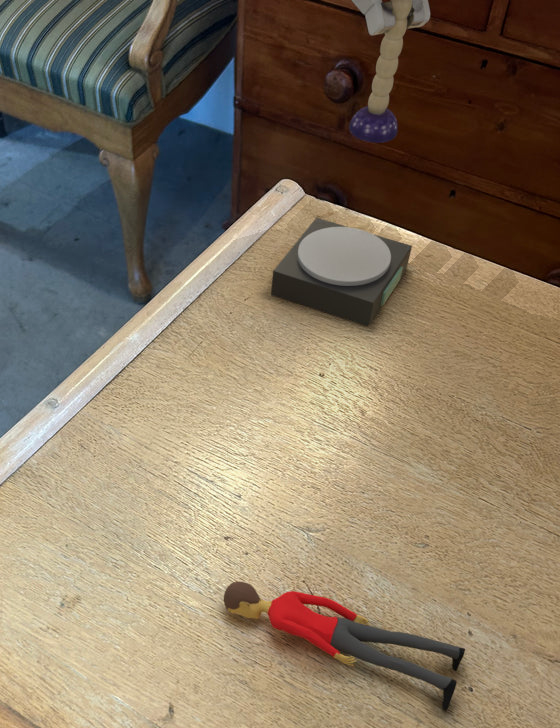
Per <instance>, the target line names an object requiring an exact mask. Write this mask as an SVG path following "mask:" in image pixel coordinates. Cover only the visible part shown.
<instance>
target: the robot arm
mask: <svg viewBox="0 0 560 728" xmlns="http://www.w3.org/2000/svg"><path fill="white" fill-rule="evenodd" d="M351 2H352V3H353V4H354V6H355V7H357V9H358V10H359V11H360V12H361V14H363V15H364V16H365V22H366V26H367V31H368V34H369V36H377V35H383V34H385V33H388V32H389V31H390V29H392V28H393V27H394V25H395V16H394V15H393V13H392V12H393V6H392V1H391V0H389V1H383V0H351ZM430 18H431V9H430V3H429V0H412V6H411V10H410V13H409V14H408V16H407V28H406V30H409V29H415V28H420V27H424V25H425V24H426V23H428V22H429V21H430Z"/></svg>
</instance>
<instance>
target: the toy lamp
mask: <svg viewBox="0 0 560 728" xmlns="http://www.w3.org/2000/svg"><path fill="white" fill-rule="evenodd" d="M390 1H392V6H393V12H392V13H393V15H394V16H395V25H394V27H393V28H392V29H390V31H389V32H388V33H384V37H383V38H382V40H381V44H380V46H379V47H380V48H379V53H380V55H379V57H378V58H377V61H376V64H375V73H376V74H375V75H374V77H373V79H372V83H371V93H370V95H369V97H368V102H367V106H364V107H362V108H360V109H359V110H358V111H357V112H355V113H354V115H353V116H352V118H351V120H350V122H349V125H348V130H349V132H350V134H351V135H353V137H355V138H357V139H358V140H361V141H364V142H367V143H374V144H379V143H380V144H381V143H387V142H391V141H393V140H394V139H395V138H396V137H397V135H398V126H399V125H398V120H397V117H396V116H395V114H394V113H393V112H392V111H391V110H390V109H388V106H389V103H390V93H391V91H392V89H393V86H394V81H395V80H394V75H395V74H396V72H397V71H398V67H399V56H400V55H401V52H402V50H403V45H404V39H403V37H404V35H405V33H406V31H407V29H406V28H407V16H408V14H409V13H410V10H411V6H412V0H390Z"/></svg>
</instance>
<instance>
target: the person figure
mask: <svg viewBox="0 0 560 728" xmlns="http://www.w3.org/2000/svg"><path fill="white" fill-rule="evenodd" d="M223 603H224V607H225V609H226V610H227V611H229V612H230V613H231V614H235V615H240V616H243V617H244V618H246V619H259V618H260V617H261V614H262V613H266V614H267V617H268V620H269V622H270V625H271V627H272V629H275V630H278V631H283V632H284V633H287V634H288V635H292V636H295V637H300V638H302V639H304V640H306V641H308V642H309V643H310V644H312V645H313V646H315V647H317V648H318V649H320V650H321V651H323V652H325V653H327V654H329V656H330V657H332V658H333V659H336V660H338V661H339V662H341V663H343V664H345V665H347V666H351V667H354V666H355V664H353V663H356V662H357V659H359V660H360V661H362V662H365V663H368V664H370V665H371V664H372V665H374V666H378V667H382V668H384V669H388V670H391V671H395V672H398V673H400V674H403V675H405V676H409V677H411V678H415V679H416V680H417V679H418V680H421V681H422V682H425V683H427V684H429V685H432V686H434V687H435V688H437V689H439V690H441V691H442V693H443V694H442V695H443V696H442V697H443V698H442V704H441V707H442V710H443V711H445V712H447V710H448V709H449V707H450V704H451V702H452V699H453V696H454V692H455V690H456V688H457V685H458V683H457V682H458V681H457V680H456V679H453V678H452V677H449V676H446V675H443V674H440V673H437V672H435V671H432V670H430V669H428V668H425V667H423V666H421V665H419V664H416V663H415V662H411V661H408V660H405V659H403V658H400V657H396V656H392V655H388V654H386V653H383V652H381V651H380V650H377V649H375V648H373V647H371V646H370V645H368V644H366V643H375V644H382V645H383V644H384V645H394V646H400V647H405V648H411V649H415V650H416V649H417V650H421V651H426V652H431V653H436V654H440V655H443V656H446V657H448V658H451V661H452V663H451V670H452V671H453V672H457V671H458V669H459V667H460V664H461V661H462V659H463V658H464V656H465V652H466V648H464V647H461V646H458V645H454V644H452V643H451V644H450V643H447V642H443V641H439V640H435V639H431V638H429V637H424V636H421V635H416V634H412V633H408V632H402V631H391V630H387V629H383V628H379V627H376V626H372V625H371V624H370V623H369V620H368V619H367V618H366V617H364V616H362V615H359V614H357V613H355V612H354V611H352V610H351V609H348V608H347V607H346V606H343V605H342V604H341V603H339V602H337V601H335V600H333V599H331V598H328V597H325V596H320V595H315V594H309V593H304V592H300V591H294V590H289V591H286V592H284V593H282V594H280V595H279V596H278V597H276V598H274V599H272V600H265V599H263V598H261V597H260V595H259V594H258V592H257V590H256V588H255V587H254V586H253V585H252V584H250V583H248V582H245V581H233V582H231V583H230V584H229V585H227V587H226V588H225V592H224V593H223ZM306 605H309V606H317V607H323V608H327V609H328V610H331V611H332V612H334V613H336V614H337V615H339V616H340V617H339V616H331V617H330V616H327V615H324V614H323V615H322V614H319V613H317V612H316V611H314V610H312V609H310V608H309V607H308V606H306ZM341 653H342V654H341ZM346 655H348V656H346Z"/></svg>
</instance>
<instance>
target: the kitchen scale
mask: <svg viewBox="0 0 560 728" xmlns="http://www.w3.org/2000/svg"><path fill="white" fill-rule="evenodd" d="M412 248H413V245H411V244H408V243H404V242H401V241H397V240H395V239H391V238H387V237H384V236H380V235H377V234H373V233H371V232H369V231H366V230H363V229H361V228H355V227H352V226H351V227H349V226H347V225H343V224H339V223H336V222H333V221H330V220H326V219H322V218H320V217H315V218H314V219H313V221H312V222H311V224H310V225H309V226H308V227H307V228H306V229H305V230H304V232H303V234H302V235H301V236H300V238H298V239H297V241H296V242H295V243H294V244H293V246H292V247H291V248H290V250H289V251H288V252H287V253H286V254H285V256H284V257H283V258H282V259H281V260H280V262H279V263H278V264H277V265H276V266H275V268H274V269H273V271H272V278H271V290H270V295H271V296H274V297H276V298H280V299H283V300H285V301H288V302H291V303H295V304H299V305H301V306H304V307H307V308H310V309H313V310H316V311H319V312H323V313H325V314H328V315H331V316H334V317H337V318H340V319H344V320H346V321H350V322H353V323H356V324H358V325H361V326H365V327H369V326H370V325H371V324H372V322H373V321H374V319H375V318H376V316H377V314H378V313H379V312H380V310H381V309H382V308H383V306H384V305H385V303H386V301H387V300H388V299H389V297H390V296H391V294H392V293H393V291H395V288H396V287H397V285H398V284H399V282H401V278H402V277H403V276H404V274H405V273H406V271H407V268H408V265H409V261H410V257H411V252H412Z"/></svg>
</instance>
